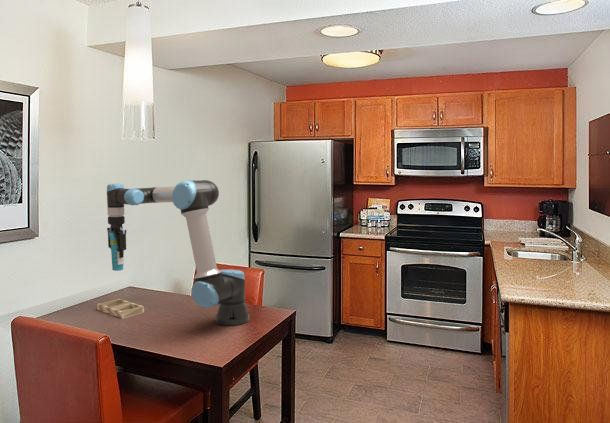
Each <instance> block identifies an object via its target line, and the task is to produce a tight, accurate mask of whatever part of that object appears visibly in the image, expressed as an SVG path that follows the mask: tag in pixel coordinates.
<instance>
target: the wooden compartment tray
mask: <svg viewBox="0 0 610 423" xmlns="http://www.w3.org/2000/svg"><path fill="white" fill-rule="evenodd" d="M96 307H97V308H96V309H97V311H99V312H102V313H105V314H108V315H110V316H114V317H116V318H118V319H121V320H122V319H126V318H129V317H130V318H131V317H133V316H137V315H140V314H143V313H145V306H144V305H142V304H141V305H140V304H138V303H134V302H131V301H127V300H124V299H122V298H116V299H112V300H107V301H103V302H99V303H97V305H96Z"/></svg>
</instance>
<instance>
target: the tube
mask: <svg viewBox="0 0 610 423" xmlns="http://www.w3.org/2000/svg"><path fill="white" fill-rule="evenodd" d="M109 236H110V244H111V249H110V253H111V267H112V268H111V270H112V271H114V272H116V271H117V272H119V271H123V270H124V264H120V265H118V260H117V250H118V245H117V239H116V237H115V234H114V232H109ZM124 251H125V250H124ZM124 251H123V256H124V257H125V255H124V254H125V253H124ZM124 257H123V259H124Z"/></svg>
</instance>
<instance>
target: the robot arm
mask: <svg viewBox="0 0 610 423" xmlns="http://www.w3.org/2000/svg"><path fill="white" fill-rule="evenodd" d="M219 196H220V191H219V188H218V186H217V185H216V184H215V183H214V182H213V181H211V180H208V179H205V180H203V179H202V180H198V179H197V180H195V179H194V180H185V181H180V182H178V183H177V184H176V185H175V186H174V185H173V186H158V187H157V186H154V187H139V188H137V187H136V188H125V186H124V184H122V183H108V184H107V186H106V204H107V207H106V208H107V224H108V225H110V227H106V228H107V229H106V230H107V242H108V244H107V245H108V247H107V248H110V250H111V244H110V236H109V232H114V234H115V237H116V239H117V245H118V250H117V260H118V265H120V264H123V265H124V263H125V262H124V258H123V257H125V255H124V256H123V251H127V229H124V228H123V225H125V222H126V221H125V216H124V215H125V205H129V206H138V205H141V204H143V205H144V204H157V203H161V204H162V203H173V205H174V206H175V207H176V209H179V210H180V214H181V216H183V217H185V220H186V225H187V229H188V235H189V241H190V244H191V251H192V254H193V260H194V264H195V265H194V266H195V269H196V274H195V275H194V279H193V280H194V282H195V283H194V284H192V288H191V289H190V291H191V292H190V293H191V298H192V299H193V301H194V303H195V304H197V305H198V306H199V307H201V308H203V309H207V308H208V309H209V308H212V307H213V308H214V307H216V306H217V305H218V307H217V311H216V314H215V323H217V324H218V325H221V326H239V325H243V324H246V323H247V322H249V321H250V312H248V308H247V305H246V279H245V273H244V272H243V271H242V270H238V269H218V266H217V261H216V255H215V251H214V247H213V242H212V241H213V240H212V237H211V231H210V227H209V226H210V225H209V222H208V217H207V216H208V215H207V213H208V211H209V206H212V205H214V204H215V203H216V202H217V201H218V200H219Z"/></svg>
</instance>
